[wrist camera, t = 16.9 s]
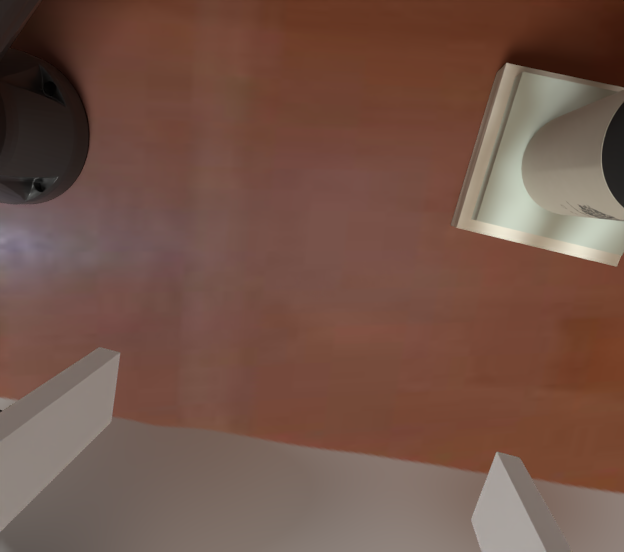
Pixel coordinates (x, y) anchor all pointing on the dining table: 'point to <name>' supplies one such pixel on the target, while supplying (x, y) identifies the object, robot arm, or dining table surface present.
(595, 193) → the travel mug
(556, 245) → the plinth
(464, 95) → the dining table surface
